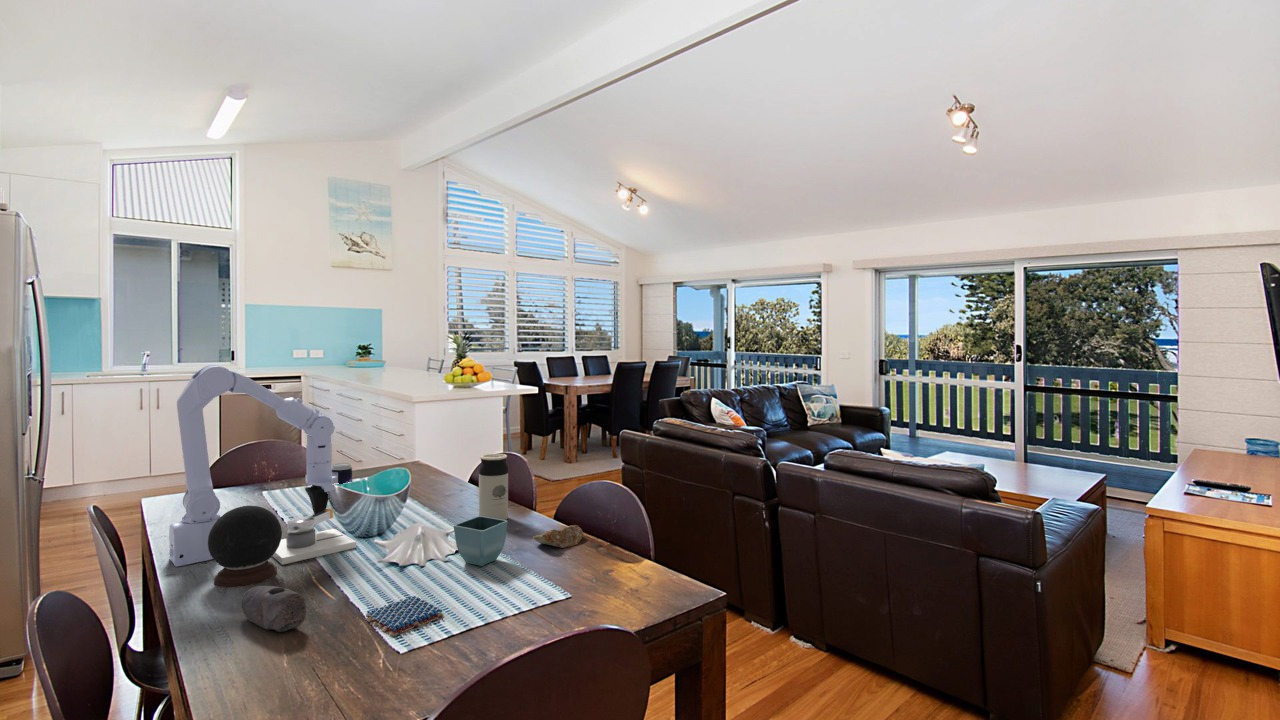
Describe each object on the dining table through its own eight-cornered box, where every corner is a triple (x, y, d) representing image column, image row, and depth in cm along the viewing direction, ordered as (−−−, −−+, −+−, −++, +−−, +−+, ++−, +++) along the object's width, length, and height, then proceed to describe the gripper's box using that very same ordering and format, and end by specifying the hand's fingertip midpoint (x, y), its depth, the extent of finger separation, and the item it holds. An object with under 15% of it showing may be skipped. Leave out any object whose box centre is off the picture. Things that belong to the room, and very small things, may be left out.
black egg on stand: (296, 569, 134) (296, 501, 134) (242, 592, 121) (242, 518, 121) (249, 562, 138) (248, 496, 137) (192, 585, 125) (191, 512, 124)
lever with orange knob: (303, 534, 142) (303, 524, 142) (281, 533, 143) (281, 523, 143) (341, 517, 156) (341, 508, 156) (321, 516, 157) (321, 507, 157)
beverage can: (346, 506, 184) (346, 466, 184) (327, 505, 184) (327, 466, 184) (355, 501, 190) (355, 462, 189) (337, 500, 190) (337, 462, 189)
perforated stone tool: (230, 621, 109) (229, 583, 109) (260, 610, 114) (259, 573, 114) (279, 642, 102) (279, 601, 102) (309, 629, 107) (309, 590, 107)
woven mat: (415, 603, 119) (415, 592, 119) (446, 619, 112) (445, 608, 112) (362, 621, 111) (361, 610, 111) (391, 640, 104) (391, 628, 104)
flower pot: (452, 564, 138) (452, 524, 138) (479, 552, 146) (479, 515, 145) (482, 571, 134) (482, 530, 134) (508, 559, 142) (508, 520, 141)
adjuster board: (282, 564, 136) (282, 544, 136) (263, 549, 146) (263, 530, 146) (356, 547, 148) (355, 529, 148) (334, 534, 158) (334, 517, 158)
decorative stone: (524, 527, 150) (563, 520, 162) (522, 545, 149) (562, 536, 162) (554, 534, 144) (592, 525, 157) (552, 553, 144) (591, 543, 157)
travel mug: (476, 517, 174) (476, 454, 174) (504, 514, 177) (504, 452, 177) (481, 525, 167) (481, 459, 166) (510, 521, 170) (511, 457, 170)
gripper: (346, 463, 154) (346, 517, 154) (325, 455, 164) (325, 506, 164) (316, 467, 149) (316, 523, 149) (296, 459, 159) (296, 511, 159)
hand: (319, 514), depth 156 cm, fingers closed
